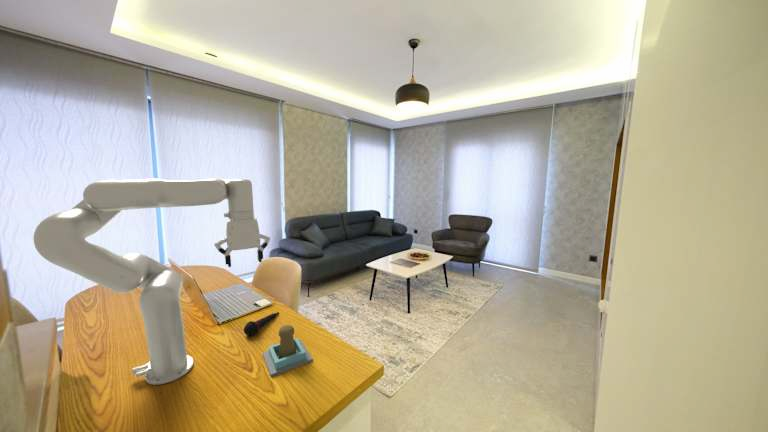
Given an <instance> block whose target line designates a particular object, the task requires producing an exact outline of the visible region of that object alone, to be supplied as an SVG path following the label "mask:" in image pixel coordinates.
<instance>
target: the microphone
mask: <svg viewBox="0 0 768 432" xmlns="http://www.w3.org/2000/svg"><path fill="white" fill-rule="evenodd" d="M279 314H280V312H279V311H278V312H275V313H270V314H269V315H266V316H264V317H261V318H260V319H258V320H255V321H252V320H251V321H248V322H247V323H246V324H245V325H244V328H243V332H244V334H245V335H246V336H249V337H250V336H255V335H256V334H258V331H259V329H262V328H264V327H265V325H267V324H269V322H271V321H272V320H274V319H275V318H276V316H278V315H279Z"/></svg>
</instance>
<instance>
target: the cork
mask: <svg viewBox="0 0 768 432" xmlns="http://www.w3.org/2000/svg"><path fill="white" fill-rule="evenodd" d="M294 334H295V328H294V326H293V325H290V324H286V325H283V326H281V327H280V328H279V330H278V336H279V338H280V340H279V343H280V348H279V359H281V358H284V357H287V356H290V355H293V354H296V349H295V344H294V338H295V337H294Z"/></svg>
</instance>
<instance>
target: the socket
mask: <svg viewBox="0 0 768 432" xmlns="http://www.w3.org/2000/svg"><path fill="white" fill-rule="evenodd" d="M293 338H294V344H295V349H296V354H293V355H290V356H287V357H284V358H281V359H279V348H280V342H278V343H276V344H272V345H269V346H268V350H266V351H263V352H262V357H263V359H264V363H265V365H266V367H267V371H268V373H269V376H270V378H271V377H274V376H278V375H280V374H283V373H285V372H288V371H291V370H293V369H295V368H298V367H300V366H303V365H305V364H308V363H311V362H313V361H314V360H313V357H312V355H311V354H310V352H309V351H308V348H307V347H306V345H305V344H304V342H303V340H302V339H300V340H299V339H298V337H293Z"/></svg>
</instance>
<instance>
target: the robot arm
mask: <svg viewBox="0 0 768 432" xmlns="http://www.w3.org/2000/svg"><path fill="white" fill-rule="evenodd" d="M82 197H83V199H82V200H80V202H78V203H77V204H76V205H75V206H73V207H72V208H71V209H68V210H63V211H61V212H57V213H54V214H51V215H49V216H48V217H46V218H44V219H42V221H40V223H39V224H38V225H37V226H36V228H35V229H34V233H33V244H34V248H35V250H36V251H37V252H38V254H39V255H40V256H41V257H42V258H44V259H45V260H46V261H47V262H49V263H51V264H54V265H55V266H57V267H60V268H62V269H65V270H67V271H69V272H72V273H74V274H76V275H78V276H80V277H83V279H86V280H89V281H90V282H93V283H95V284H97V285H99V286H102V287H103V288H106V289H108V290H110V291H112V292H115V293H120V294H125V293H129V292H132V291H134V290H136V289H137V288H140V289H142V291H141V293H140V295H139V298H138V299H139V301H138V305H139V309H140V312H141V317H142V320H143V325H144V331H145V332H144V333H145V337H146V346H147V352H148V358H149V362H148V363H147V362H146V363H145V365H144V364H143V365H140V366H136V367H132V369H131V373H132V375H133V376H134V375H135V377H136V378H139V377H143V376H144V379H145V382H146V383H147V384H149V385H157V386H158V385H163V384H168V383H171V382H174V381H176V380H178V379H180V378H181V377H182V378H183V376H185V375H186V374H188V373H189V371H190V370H191V369H192V368H193V366H194V359H193V357H192V356H190V355H187V354H188V353H187V344H186V343H187V342H186V336H185V327H184V326H185V325H184V318H183V313H182V307H181V301H180V299H181V298H180V295H181V292H182V289H183V285H184V280H183V277H182V276H181V274H180V273H178V272H177V271H176V270H174V269H172V268H170V267H169V266H167V265H165V264H163V263H161V262H159V261H158V260H156V259H153V258H151V257H150V256H147V255H144V254H142V253H136V252H135V253H134V252H133V253H125V254H123V255H118V254H117V253H115V252H112V251H110V250H108V249H106V248H105V247H102V246H99V245H97V244H93V243H90V242H88V241H87V240H86V239H87V238H88V237H90V236H92V235H93V234H95V233H97V232H99V231H100V230H101V229H102V228H103V227H104V226H106V225H107V224H108V223H109V222H110V221H111V220H112V219H114V218H115V217H116V216H117V215H118V214H119V213H120V212H122V211H127V210H140V209H141V210H142V209H155V208H156V209H157V208H159V209H160V208H176V207H179V208H180V207H181V208H183V207H197V206H210V205H216V204H219V203H221V202H223V201H224V200H227V204H228V205H227V206H228V211H227V212H225V213H224V214H223V216H224V218H228V220H227V222H226V231H225V232H226V233H225V234H226V235H225V237H223V238H221V239H220V240H219V241H217V242H215V243H214V247H215V248H216V249H217V251H218V252H219V253H221V254H222V255H224V259H225V265H227V266H228V268H231V267H232V260H231V253H232V251H239V250H241V251H242V250H249V249H254V248H255V249H256V248H257V252H256V253H257V261H258V262H259V263H262V262H263V261H262V260H264V250H265V249H266V248H267V247H268V245H269V243H270V241H271V238H270V236H267V235H264V234H262V233H260V228H259V224H258V223H259V222H258V220H257V218H256V217H255V211H254V196H253V184H252V181H251V180H250V179H245V178H232V179H224V178H223V179H222V178H213V177H211V178H208V179H200V180H199V179H198V180H196V179H195V180H193V179H192V180H169V179H167V180H166V179H162V178H161V179H160V178H145V179H122V180H121V179H117V180H116V179H105V180H99V181H94V182H91V183H90V184H88V185H87V186H86V187H85V188H84V190H83V192H82ZM261 239H262V240H264V242H262V244H261ZM225 243H226V245H227V247H226V248H223V247H222V245H224V244H225Z"/></svg>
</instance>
